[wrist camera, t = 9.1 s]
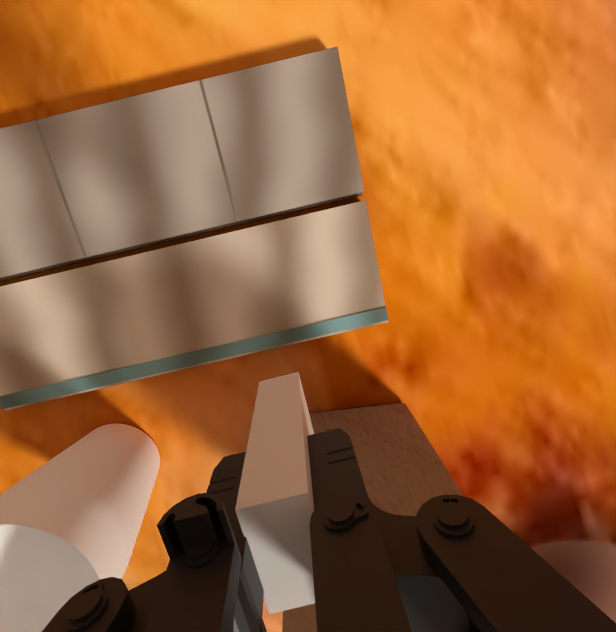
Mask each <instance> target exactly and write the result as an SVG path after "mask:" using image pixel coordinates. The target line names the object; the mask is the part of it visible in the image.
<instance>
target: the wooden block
mask: <svg viewBox="0 0 616 632" xmlns="http://www.w3.org/2000/svg"><path fill="white" fill-rule="evenodd" d="M309 415H310V419H311V423H312V427H313V431H314V434H316V433H321V432H325V431H329V430H333V429H337V428H341V429H342V430H343V431H344V432H346V433H347V434H348V435H349V436H350V439H351V442H352V445H353V449H354V452H355V455H356V458H357V462H358V465H359V468H360V471H361V475H362V478H363V481H364V484H365V488H366V491H367V494H368V496H369V498H370V500H371V502H372V503H373V504H374V505H375V506H376V507H378V508H379V509H381V510H383V511H385V512H388V513H391V514H395V515H404V516H416V515H417V512H418V511H419V509H420V507H421V505H422V504H424V503H425V502H426V501H428V500H429V499H431V498H433V497H437V496H440V495H460V496H463V494H462V492H461V491H460V489H459V488H458V486H457V485H456V483H455V481H454V480H453V478H452V477H451V475H450V474H449V472H448V470H447V469H446V467H445V466H444V464H443V463H442V461H441V459H440V458H439V456H438V455H437V453H436V452H435V450H434V448H433V447H432V445H431V444H430V442H429V441H428V439H427V437H426V436H425V434H424V433H423V431H422V430H421V428H420V426H419V425H418V423H417V422H416V420H415V419H414V417H413V416H412V414H411V412H410V411H409V409H408V408H407V406H406V405H405V404H403V403H395V404H386V405H378V406H369V407H360V408H351V409H342V410H334V411H325V412H316V413H309ZM282 632H317V623H316V609H315V603H314V604H310V605H306V606H302V607H297V608H293V609H289V610H285V611H283V630H282Z"/></svg>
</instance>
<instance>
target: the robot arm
mask: <svg viewBox="0 0 616 632" xmlns="http://www.w3.org/2000/svg"><path fill="white" fill-rule="evenodd" d="M157 527H158V529H159V532H160V534H161V537H162V540H163V542H164V545H165V547H166V550H167V552H168V555H169V557H170V561H169V564H168V567H167V570H166V571H164V572H163V573H161V574H160V575H158V576H156V577H154V578H152V579H151V580H149V581H147V582H145V583H143V584H141V585H139V586H137V587H135V588H133V589H131V590H129V591H128V589H127V587H126V585H125V584H124V582H123V580H122V579H119V578H115V577H109V578H104V579H100V580H98V581H96V582H94V583H92V584H90V585H88V586H86V587H84V588H83V589H82V590H80V591H79V592H78V593H76V594H75V595H74V596H72V597H71V598H70V599H69V600H68V601H67V602H66V603H65V604H64V605H63V606H62V608H61V609H60V610H59V611H58V612H57V613H56V614H55V616H54V617H53V618H52V619H51V621H50V622H49V623H48V624H47V626H46V627H45V628H44V629H43V631H42V632H267V631H266V628H265V625H264V622H263V619H262V612H263V597H264V599H265V602H266V605H267V608H268V611H269V614H273V613H277V612H281V611H285V610H289V609H293V608H297V607H302V606H306V605H310V604H314V603H315V609H316V623H317V632H616V623H615V622H614V621H613V620H611V619H610V618H609V617H608V616H607V615H606V614H605V613H603V612H602V611H601V610H600V609H599V608H598V607H597V606H595V604H593V603H592V602H591V601H590V600H589V599H588V598H587V597H585V596H584V595H583V594H582V593H581V592H580V591H578V589H576V588H575V587H574V586H573V585H572V584H571V583H570V582H569V581H567V580H566V579H565V578H564V577H563V576H562V575H561V574H559V573H558V572H557V571H556V570H555V569H554V568H552V566H550V565H549V564H548V563H547V562H546V561H545V560H544V559H542V558H541V557H540V556H539V555H538V554H537V553H536V552H534V551H533V550H532V549H531V548H530V547H529V546H528V545H527V544H526V543H524V542H523V541H522V540H521V539H520V538H519V537H518V536H517V535H515V534H514V533H513V532H512V531H511V530H510V529H509V528H507V527H506V526H505V525H504V524H503V523H502V522H501V521H500V520H498V519H497V518H496V517H495V516H494V515H493V514H492V513H491V512H489V511H488V510H487V509H486V508H485V507H484V506H482V505H481V504H479V503H478V502H476V501H474V500H473V499H471V498H467V497H464V496H460V495H440V496H437V497H433V498H431V499H429V500H428V501H426V502H425V503H424V504H422V505H421V507H420V509H419V511H418V512H417V515H416V516H404V515H395V514H391V513H388V512H385V511H383V510H381V509H379V508H378V507H376V506H375V505H374V504H373V503H372V502H371V500H370V498H369V496H368V494H367V491H366V488H365V484H364V481H363V478H362V475H361V471H360V468H359V465H358V462H357V458H356V455H355V452H354V449H353V445H352V442H351V439H350V436H349V435H348V434H347V433H346V432H344V431H343V430H342V429H341V428H337V429H333V430H329V431H325V432H321V433H316V434H314V431H313V427H312V423H311V419H310V415H309V411H308V407H307V403H306V399H305V395H304V392H303V388H302V384H301V380H300V376H299V372H296V373H292V374H287V375H283V376H279V377H275V378H271V379H267V380H263V381H259V386H258V391H257V397H256V402H255V407H254V412H253V418H252V423H251V428H250V434H249V439H248V444H247V450H246V452H243V453H239V454H235V455H230V456H226V457H224V458H223V459H222V460H221V461H220V463H219V464H218V465H217V466H216V467H215V469H214V470H213V473H212V477H211V480H210V485H209V486H208V490H207V493H202V494H196V495H194V496H191V497H188V498H186V499H184V500H182V501H181V502H179V503H177V504H176V505H174V506H173V507H172V508H171V509H170V510H169V511H168V512H166V513H165V514H164V515H163V517H162V518H161V520H160V521H159V523H158V525H157Z"/></svg>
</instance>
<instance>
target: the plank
mask: <svg viewBox="0 0 616 632" xmlns="http://www.w3.org/2000/svg"><path fill="white" fill-rule="evenodd" d="M387 322H388V316H387V310H386V307H385V301H384V296H383V291H382V285H381V280H380V275H379V269H378V264H377V258H376V253H375V248H374V242H373V237H372V232H371V226H370V221H369V215H368V210H367V205H366V200H364V201H360V202H356V203H352V204H347V205H343V206H339V207H335V208H330V209H326V210H322V211H318V212H313V213H309V214H305V215H301V216H297V217H292V218H288V219H284V220H280V221H275V222H271V223H267V224H263V225H258V226H254V227H250V228H246V229H242V230H237V231H233V232H229V233H225V234H220V235H216V236H212V237H208V238H204V239H199V240H195V241H191V242H187V243H182V244H178V245H174V246H170V247H165V248H161V249H157V250H153V251H149V252H144V253H140V254H136V255H132V256H127V257H123V258H119V259H115V260H110V261H106V262H102V263H98V264H94V265H89V266H85V267H81V268H77V269H72V270H68V271H64V272H60V273H56V274H51V275H47V276H43V277H39V278H34V279H30V280H26V281H22V282H17V283H13V284H9V285H5V286H1V287H0V406H1V408H2V409H4V411H7V410H11V409H15V408H19V407H24V406H28V405H32V404H37V403H41V402H45V401H50V400H54V399H58V398H63V397H67V396H71V395H76V394H80V393H84V392H89V391H93V390H97V389H102V388H106V387H110V386H115V385H119V384H123V383H127V382H132V381H136V380H140V379H145V378H149V377H153V376H158V375H162V374H166V373H171V372H175V371H179V370H184V369H188V368H192V367H197V366H201V365H205V364H210V363H214V362H218V361H223V360H227V359H231V358H236V357H240V356H244V355H248V354H253V353H257V352H261V351H266V350H270V349H274V348H279V347H283V346H287V345H292V344H296V343H300V342H305V341H309V340H313V339H318V338H322V337H326V336H331V335H335V334H339V333H344V332H348V331H352V330H356V329H361V328H365V327H369V326H374V325H378V324H382V323H387Z"/></svg>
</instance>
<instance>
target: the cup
mask: <svg viewBox="0 0 616 632" xmlns="http://www.w3.org/2000/svg"><path fill="white" fill-rule="evenodd" d="M159 467H160V455H159V451H158V449H157V447H156V445H155V443H154V442H153V440H152V439H151V438H150V437H149V436H148V435H147V434H146V433H144V432H143V431H141V430H140V429H138V428H136V427H133V426H130V425H126V424H118V423H115V424H107V425H103V426H100V427H98V428H96V429H94V430H93V431H91V432H90V433H89V434H87V435H86V436H84V437H83V438H81V439H80V440H78V441H77V442H76V443H74V444H73V445H71V446H70V447H68V448H67V449H65V450H64V451H63V452H61V453H60V454H58V455H57V456H55V457H54V458H52V459H51V460H50V461H48V462H47V463H45V464H44V465H42V466H41V467H39V468H38V469H37V470H35V471H34V472H32V473H31V474H29V475H28V476H26V477H25V478H24V479H22V480H21V481H19V482H18V483H16V484H15V485H14V486H12V487H11V488H9V489H8V490H6V491H5V492H4V493H2V494H1V495H0V632H42V631H43V629H44V628H45V627H46V626H47V624H48V623H49V622H50V621H51V619H52V618H53V617H54V616H55V614H56V613H57V612H58V611H59V610H60V609H61V608H62V606H63V605H64V604H65V603H66V602H67V601H68V600H69V599H70V598H71V597H72V596H74V595H75V594H76V593H78V592H79V591H80V590H82V589H83V588H84V587H86V586H88V585H90V584H92V583H94V582H96V581H98V580H100V579H104V578H109V577H115V578H119V579H121V578H122V577H123V575H124V573H125V571H126V568H127V566H128V563H129V560H130V557H131V554H132V551H133V548H134V545H135V542H136V539H137V536H138V533H139V530H140V526H141V523H142V520H143V517H144V514H145V511H146V508H147V505H148V502H149V499H150V496H151V492H152V489H153V486H154V483H155V480H156V477H157V474H158V471H159Z"/></svg>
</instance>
